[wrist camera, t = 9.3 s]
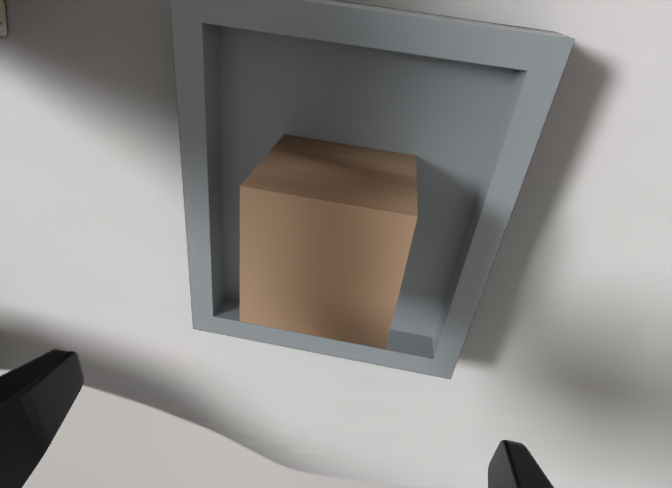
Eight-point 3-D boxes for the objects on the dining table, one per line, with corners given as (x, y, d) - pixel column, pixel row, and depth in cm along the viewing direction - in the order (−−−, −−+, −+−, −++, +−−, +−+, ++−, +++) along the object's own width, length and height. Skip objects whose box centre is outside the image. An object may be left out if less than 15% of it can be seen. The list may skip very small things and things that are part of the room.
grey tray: (211, 299, 22) (192, 328, 21) (198, -19, 15) (168, -19, 13) (447, 345, 22) (450, 379, 20) (554, 31, 14) (574, 39, 12)
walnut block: (277, 246, 19) (239, 321, 15) (284, 134, 17) (239, 186, 12) (391, 266, 19) (385, 349, 15) (416, 155, 16) (417, 216, 12)
